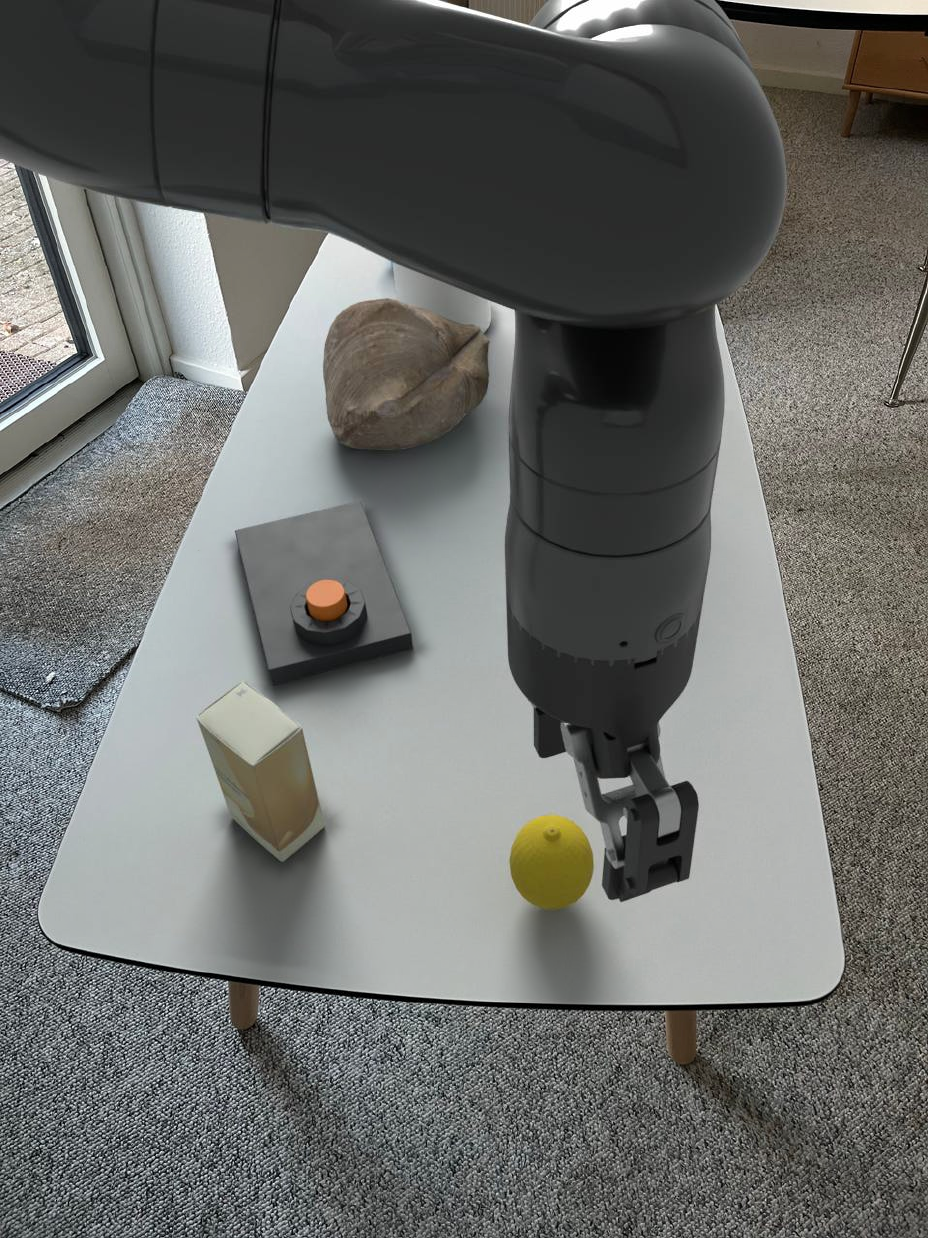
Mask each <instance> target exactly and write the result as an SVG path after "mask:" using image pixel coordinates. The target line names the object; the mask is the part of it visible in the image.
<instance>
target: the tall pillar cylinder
mask: <svg viewBox="0 0 928 1238" xmlns="http://www.w3.org/2000/svg"><path fill="white" fill-rule="evenodd" d="M392 271H393V279H394V287H395V289H394V290H395V296H396V297H395V299H396V300H397V301H400V302H402V303H404V304H407V305H409V306H412V307H418V308H422V309H426V310H429V311H431V312H433V313H436V314H437V315H439V316H442V317H444V318H446V319H449V320H451V321H454V322H457V323H460V324H464V325H469V324H473V325H476V326H479V327H480V330H481V331H482V332H483V334H484V333H485V332H486V331H487V330H488V329H489V327H490V326H491V322H492V309H491V307H492V306H491V301H489V300H486V299H484V298H481V297H479V296H476V295H474V294H471V293H469V292H466V291H464V290H461V289H459V288H456V287H454V286H451V285H449V284H446V283H444V282H441V281H439V280H436V279H434V278H431V277H429V276H426V275H423V274H421V273H418V272H416V271H413V270H410V269H408V268H405V267H403V266H401V265H398V264H396V263H394V262H393V270H392Z"/></svg>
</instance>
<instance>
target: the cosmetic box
mask: <svg viewBox="0 0 928 1238" xmlns="http://www.w3.org/2000/svg"><path fill="white" fill-rule="evenodd" d="M195 719H196V721H197V724H198V727H199V730H200V732H201V735H202V738H203V740H204V743H205V746H206V749H207V752H208V755H209V758H210V761H211V764H212V767H213V769H214V772H215V775H216V777H217V780H218V783H219V786H220V790H221V793H222V796H223V798H224V801H225V804H226V807H227V810H228V812H229V815H230V817H231V818H232V819H233V820H234V821H235V822H236V823H237V824H238V825H239V826H240V827H241V828H242V829H243V830H245V832H247V834H248V835H249V836H250V837H252V838H253V839H254V840H255V841H256V843H257V842H258V844H260V845H261V846H262V847H263V848H264V849H265V850H266V851H268V853H270V854H271V855H273V857H275V858H276V859H277V860H278V861H280V863H284V862H285V861H286V860H287V859H288V858H290V857H291V856H292V855H293V854H295V853H296V852H297V851H299V849H301V848H302V847H303V846H304V845H306V844H307V843H308V842H309V841H310V840H311V839H312V838H313V837H314V836H316V835H317V834H318V833H319V832H320V831H321V830H322V829H324V827H325V826H326V824H325V820H324V816H323V811H322V806H321V803H320V799H319V795H318V790H317V785H316V781H315V777H314V772H313V769H312V764H311V761H310V755H309V751H308V748H307V747H308V746H307V742H306V738H305V734H304V729H303V727H302V725H301V724H300V723H299V722H297V721H296V720H295V719H293V718H292V716H290V715H289V714H287V713H286V712H285V711H284V710H282V709H281V708H280V707H279V706H278V705H277V704H275V703H274V702H273V701H271V699H269V698H267V697H266V696H265V695H263V694H262V693H261V692H260V691H259V690H257V689H256V688H255V687H253V685H251V684H250V683H248V682H247V681H246V680H242V681H240V682H239V683H237V684H236V685H235V686H233V687H232V688H231V689H230V690H228V691H226V692H225V693H224V694H223V695H221V696H220V697H219V698H217V699H216V700H214V701H213V702H212V703H211V704H209V705H207V707H205V708H204V709H203V710H202V711H201V712H199V713H198V714H197V715H195Z"/></svg>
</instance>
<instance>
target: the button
mask: <svg viewBox="0 0 928 1238" xmlns="http://www.w3.org/2000/svg"><path fill="white" fill-rule="evenodd" d="M306 600H307V604H308V609H309V612H310V614H311V616H312V617H313V618H315V619H317V620H319V621H332V620H335V619H337V618H339V617H341V616H342V615H343V614H344V613H345V611H346V609H347V601H346V595H345V590H344V587H343V586H342V585H341V584H340V583H339V582H337V581H334V580H321V581H318V582H316V583H314V584H312V585H311V586H310V587H309V588H308V590H307V592H306Z"/></svg>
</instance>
